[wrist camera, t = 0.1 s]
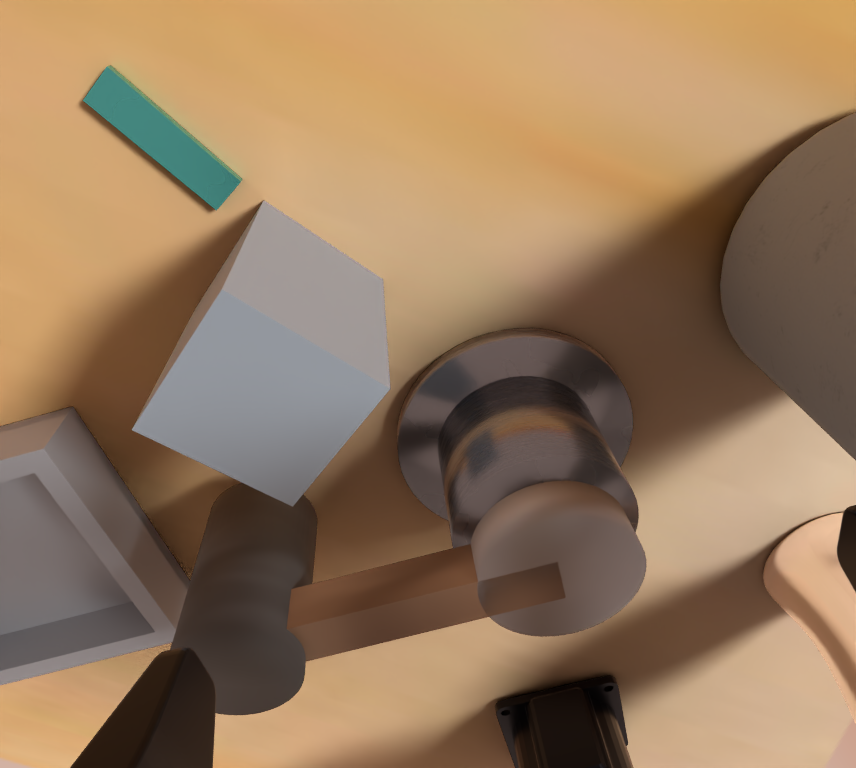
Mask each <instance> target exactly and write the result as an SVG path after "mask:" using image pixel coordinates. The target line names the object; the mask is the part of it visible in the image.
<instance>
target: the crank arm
mask: <svg viewBox="0 0 856 768" xmlns="http://www.w3.org/2000/svg"><path fill="white" fill-rule="evenodd" d="M316 535H317V515H316V511H315V509H314V507H313V505H312V504H311V502H310V501H309V500H308V499H307V498H306V497H305V496H304V495H302V496H301V497H300V498H299V500H298V501H297V502H296V503H295V504H294V506H293V507H292V506H290V505H288V504H286V503H284V502H282V501H280V500H278V499H275V498H273V497H271V496H269V495H267V494H265V493H263V492H261V491H259V490H257V489H254V488H252V487H250V486H248V485H246V484H244V483H241V484H238V485H235V486H233V487H231V488H229V489H228V490H226V491H225V492H223V493H222V494H221V495H220V496H219V497H218V498H217V499H216V501H215V502H214V504H213V506H212V508H211V512H210V515H209V518H208V522H207V525H206V529H205V532H204V536H203V539H202V542H201V546H200V549H199V553H198V556H197V560H196V563H195V566H194V570H193V573H192V577H191V580H190V584H189V587H188V590H187V594H186V597H185V601H184V604H183V608H182V611H181V614H180V618H179V621H178V625H177V628H176V632H175V635H174V638H173V642H172V645H171V649H170V650H173V649H177V648H182V647H189V648H191V649H193V650H194V651H195V653H196V654H197V656H198V657H199V659H200V661H201V662H202V664H203V665H204V667H205V668H206V670H207V672H208V673H209V675H210V676H211V678H212V680H213V682H214V685H215V690H216V710H215V713H218V714H225V715H248V714H255V713H261V712H264V711H268V710H271V709H274V708H276V707H278V706H280V705H282V704H284V703H286V702H287V701H289V700H290V699H291V698H292V697H293V696H295V694H296V693H297V692H298V691H299V689H300V688H301V686H302V683H303V681H304V675H305V663H306V661H310V660H314V659H318V658H322V657H326V656H330V655H334V654H338V653H342V652H347V651H351V650H355V649H359V648H363V647H367V646H371V645H375V644H379V643H383V642H387V641H392V640H396V639H400V638H404V637H408V636H412V635H416V634H420V633H424V632H428V631H432V630H437V629H441V628H445V627H449V626H453V625H457V624H461V623H465V622H469V621H473V620H477V619H482V618H486V617H490V618H491V619H492V620H493V621H495V622H496V623H497V624H499V625H500V626H502V627H504V628H506V629H508V630H511V631H513V632H517V633H520V634H525V635H531V636H559V635H566V634H571V633H575V632H579V631H582V630H585V629H588V628H591V627H593V626H595V625H598V624H600V623H602V622H604V621H605V620H607V619H609V618H610V617H612V616H613V615H615V614H616V613H618V612H619V611H620V610H621V609H623V608H624V607H625V606H626V605H627V604H628V603H629V602H630V601H631V600H632V598H633V597H634V596H635V594H636V593H637V592H638V590H639V588H640V586H641V584H642V582H643V579H644V576H645V572H646V557H645V552H644V550H643V548H642V545H641V543H640V541H639V539H638V537H637V535H636V533H635V531H634V529H633V527H632V525H631V523H630V521H629V519H628V517H627V515H626V513H625V511H624V509H623V508H622V506H621V505H620V503H619V502H618V501H617V500H616V499H615V498H614V497H613V496H612V495H610V494H609V493H607V492H606V491H604V490H602V489H600V488H598V487H596V486H593V485H590V484H586V483H582V482H576V481H551V482H544V483H539V484H535V485H532V486H529V487H525V488H523V489H521V490H518V491H516V492H514V493H512V494H510V495H508V496H507V497H505V498H503V499H502V500H501V501H499V502H498V503H496V504H495V505H494V506H493V507H492V508H491V509H489V511H488V512H487V513H486V514H485V515H484V516H483V517H482V519H481V520H480V522H479V523H478V525H477V527H476V529H475V531H474V533H473V536H472V539H471V544H468V545H464V546H460V547H456V548H452V549H448V550H445V551H441V552H437V553H433V554H429V555H425V556H421V557H417V558H413V559H409V560H405V561H401V562H397V563H393V564H389V565H385V566H381V567H377V568H373V569H369V570H365V571H361V572H357V573H353V574H349V575H345V576H341V577H337V578H333V579H329V580H325V581H321V582H317V583H314V584H312V581H313V570H314V558H315V546H316Z"/></svg>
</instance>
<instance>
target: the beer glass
mask: <svg viewBox="0 0 856 768" xmlns="http://www.w3.org/2000/svg"><path fill="white" fill-rule="evenodd" d="M843 513H844V512H842V513H835V514H831V515H827V516H823V517H820V518H818V519H815V520H813V521H810V522H808V523H806V524H804V525H802V526H801V527H799V528H797V529H796V530H794V531H793V532H791V533H790V534H789V535H788V536H786V537H785V538H784V539H783V540H782V541H781V542H780V543H779V544H778V545H777V546H776V547H775V548H774V550H773V551H772V552H771V554H770V556H769V557H768V559H767V562H766V564H765V567H764V571H763V581H764V584H765V587H766V589H767V591H768V593H769V594H770V595H771V597H772V598H773V599H774V600H775V601H776V602H777V603H778V604H779V605H780V606H781V607H782V609H783V610H784V611H785V612H786V613H787V614H788V615H789V616H790V617H791V618H792V619H793V620H794V621H795V622H796V623H797V624H798V625H799V626H800V627H801V628H802V629H803V630H804V631H805V633H806V634H807V635H808V636H809V638H810V639H811V640H812V642H813V643H814V644H815V646H816V647H817V648H818V650H819V652H820V653H821V655H822V657H823V658H824V660H825V661H826V663H827V665H828V666H829V668H830V670H831V672H832V675H833V677H834V679H835V681H836V683H837V685H838V687H839V689H840V691H841V693H842V695H843V697H844V699H845V702H846V704H847V706H848V708H849V710H850V713H851V715H852V717H853V719H854V721H855V723H856V592H855V590H854V589H853V587H852V585H851V583H850V582H849V580H848V578H847V577H846V575H845V573H844V571H843V570H842V568H841V566H840V563H839V561H838V557H837V544H838V539H839V533H840V527H841V522H842V516H843Z"/></svg>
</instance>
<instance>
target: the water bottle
mask: <svg viewBox="0 0 856 768" xmlns="http://www.w3.org/2000/svg"><path fill="white" fill-rule="evenodd" d="M720 292H721V304H722V311H723V314H724V317H725V320H726V323H727V326H728V329H729V331H730V333H731V335H732V337H733V338H734V340H735V341H736V343H737V344H738V346H739V347H740V349H741V350H742V352H743V353H744V354H745V355H746V356H747V357H748V358H749V359H750V360H751V361H753V362H754V363H755V364H756V365H757V366H758V367H759V368H760V369H761V370H762V371H763V372H764V373H765V374H766V375H767V376H768V377H769V378H770V379H771V380H772V381H773V382H774V383H775V384H776V385H778V386H779V387H780V388H781V389H782V390H783V391H784V392H785V393H786V394H787V395H788V396H789V397H790V398H791V399H792V400H793V401H794V402H795V403H796V404H797V405H798V406H799V407H800V408H802V409H803V410H804V411H805V412H806V413H807V414H808V415H809V416H810V417H811V418H812V419H813V420H814V421H815V422H816V423H817V424H818V425H819V426H820V427H821V428H822V429H823V430H824V431H826V432H827V433H828V434H829V435H830V436H831V437H832V438H833V439H834V440H835V441H836V442H837V443H838V444H839V445H840V446H841V447H842V448H843V449H844V450H845V451H846V452H847V453H848V454H850V455H851V456H852V457H853V458H854V459H855V460H856V112H855V113H852V114H850V115H848V116H846V117H844V118H843V119H841V120H839V121H837V122H835V123H833V124H831V125H830V126H828V127H826V128H824V129H822V130H820V131H819V132H817V133H816V134H815V135H813V136H812V137H811V138H809V139H808V140H807V141H805V142H804V143H803V144H801V145H800V146H799V147H797V148H796V149H795V150H793V151H792V152H791V153H789V154H788V155H787V156H786V157H785V158H784V159H783V160H782V161H781V162H780V163H779V164H778V165H777V166H776V167H775V168H774V169H773V170H772V171H771V172H770V173H769V174H768V175H767V176H766V177H765V179H764V180H763V182H762V183H761V184H760V186H759V187H758V188H757V190H756V191H755V192H754V194H753V195H752V196H751V198H750V199H749V200H748V202H747V203H746V205H745V207H744V209H743V211H742V213H741V215H740V217H739V219H738V220H737V222H736V224H735V226H734V228H733V230H732V233H731V236H730V239H729V242H728V246H727V249H726V252H725V255H724V259H723V266H722V273H721V281H720Z"/></svg>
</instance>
